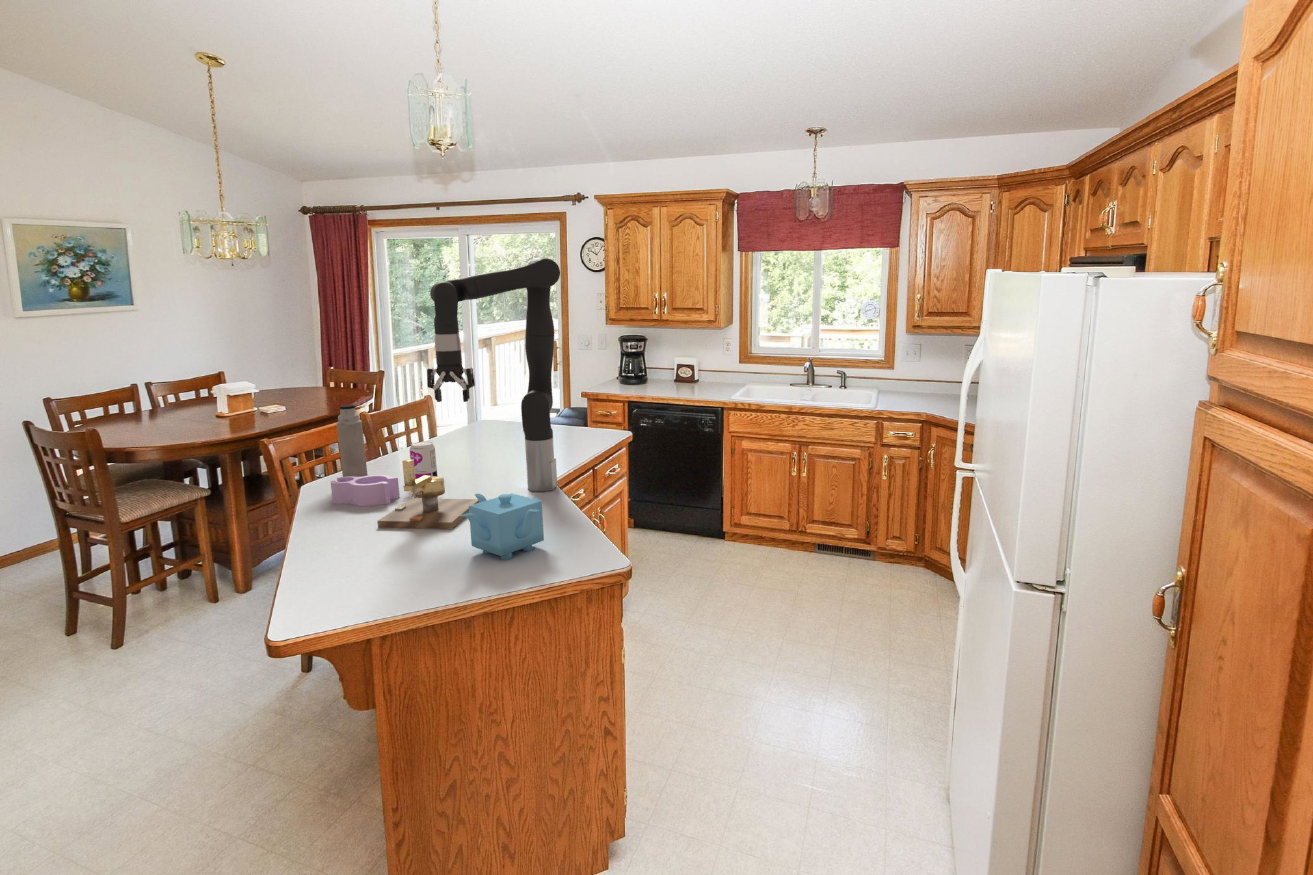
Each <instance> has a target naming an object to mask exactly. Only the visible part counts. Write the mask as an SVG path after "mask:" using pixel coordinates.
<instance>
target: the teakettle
mask: <svg viewBox="0 0 1313 875" xmlns="http://www.w3.org/2000/svg"><path fill="white" fill-rule="evenodd" d="M474 496H475V498H476V499H478V500H479V503H477V504H474V505H471V506H469V513H466V514H462V515H460V516H463V517H466V518H465V519H467V520H468V522H469V527H470V540H471V543H470V544H471V547H472V548H476V549H478V550H481V551H482V553H483V554H490V553H491V554H492V555H493V554H494V555H496V556H498V557H500V559H501V560H509V559H512V558H513V553H514V552H517V551H520V550H522V551H524V552H525V551H526V552H530V551H534V550H535V548H534V546H533V545H536V544H538V543H541V542H543V541H545V536H544V517H543V502H542V500H541V499H540V498H537V497H528V496H524V495H520V494H517V493H505V494H500V495H498V497H494V498H491V499H488V500H487V498H486V497H485V496H484V495H483V494H482V493H474Z"/></svg>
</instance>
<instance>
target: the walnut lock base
mask: <svg viewBox="0 0 1313 875" xmlns="http://www.w3.org/2000/svg"><path fill="white" fill-rule="evenodd" d="M477 503H479V500H478V499H477V498H475V499H473V498H439V496H436V497H431V498H418V497H412V498H411V499H409V500H407V501H406V502H404V503H403V504H401V505H398V506H396V507H395V508H394V510H391V512H389V513H388V514H387V513H386V515H384V516H382V517H381V518H380V519H378V520H377V528H379V529H380V528H384V529H385V528H387V529H388V528H390V529H424V530H426V529H427V530H430V529H431V530H453V529H454V528H455V527H456V526H458V525H459V524H460V523H461V522H462V521H463V520H465V519H467V518H466V517H463V516H460V515H462V514H466V513H469V506H471V505H474V504H477Z"/></svg>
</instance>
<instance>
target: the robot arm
mask: <svg viewBox="0 0 1313 875" xmlns="http://www.w3.org/2000/svg"><path fill="white" fill-rule="evenodd" d="M560 277H561V270H560V266H559V264H558V263H557V262H556V261H554V260H553V259H551V258H548V257H535V258H532V259H531V260H530V261H529V262H528V263H527V264H526V265H524V266H520V267H517V268H512V269H507V270H506V269H505V270H497V271H489V272H485V273H483V272H482V273H478V274H473V275H469V276H465V277H462V278H458V279H450V280H444V281H439V282H436V283H434V285H433V286H431V288H430V292H429V294H430V295H429V296H430V298H431V300H432V301H433V303H434V318H433V324H434V349H435V361H436V365H437V366H436V368H434V367H429V368H426V377H427V378H426V381H427V383H426V384H427V386H426V387H427V388H429V389H432V390H434V391H433V392H434V399H435V401H436V402H437V403H441V402H442V401H443V398H442V389H441V387H442V386H443V384H444V383H457V385H459V386H460V388H462V391H461V392H462V399H463V403H467V402H468V401H469V400H470V398H471V397H470V389H471V388H473V387H475V386H476V384H475V383H476V381H475V375H474V369H473V367H466V368H464V367H463V357H462V355H463V354H462V342H461V337H460V332H459V330H460V329H459V320H458V312H459V308H458V307H459V303H460V302H462V301H472V300H478V299H481V298H482V299H483V298H488V297H491V296H496V295H500V294H502V293H507V292H511V291H515V290H520V289H526V294H527V295H526V297H527V302H526V303H527V305H526V306H527V307H526V315H525V316H526V319H525V336H524V339H525V340H524V341H525V343H524V347H525V348H524V350H525V355H526V356H525V357H526V362H527V367H528V371H529V372H528V385H527V387H528V388H527V393H526V394H525V395H524V396H523V398H522V399H521V403H520V404H521V406H520V407H521V408H520V410H521V422H522V429H523V430H522V431H523V434H524V445H525V461H526V463H525V464H526V476H527V477H526V478H527V489H528V491H531V492H549V491H554V490H555V489H556V488H557V486H558V474H557V472H558V470H557V459H556V458H555V452H554V449H555V448H554V447H555V446H554V431H553V428H552V425H551V410H552V408H553V405H554V404H553V403H554V402H553V401H554V398H553V397H554V396H553V389H552V388H553V387H552V384H553V383H552V369H553V362H554V349H555V325H554V320H553V319H554V318H553V315H552V310H551V305H550V304H551V303H550V302H551V301H550V298H551V296H550V295H551V287H552V286H555V285H556V284H557V282H559V280H560ZM436 374H437V375H438V378H437V379H436V381H435V375H436ZM463 374H465V376H466V379H467V381H466V379H465V378H464V376H463Z"/></svg>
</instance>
